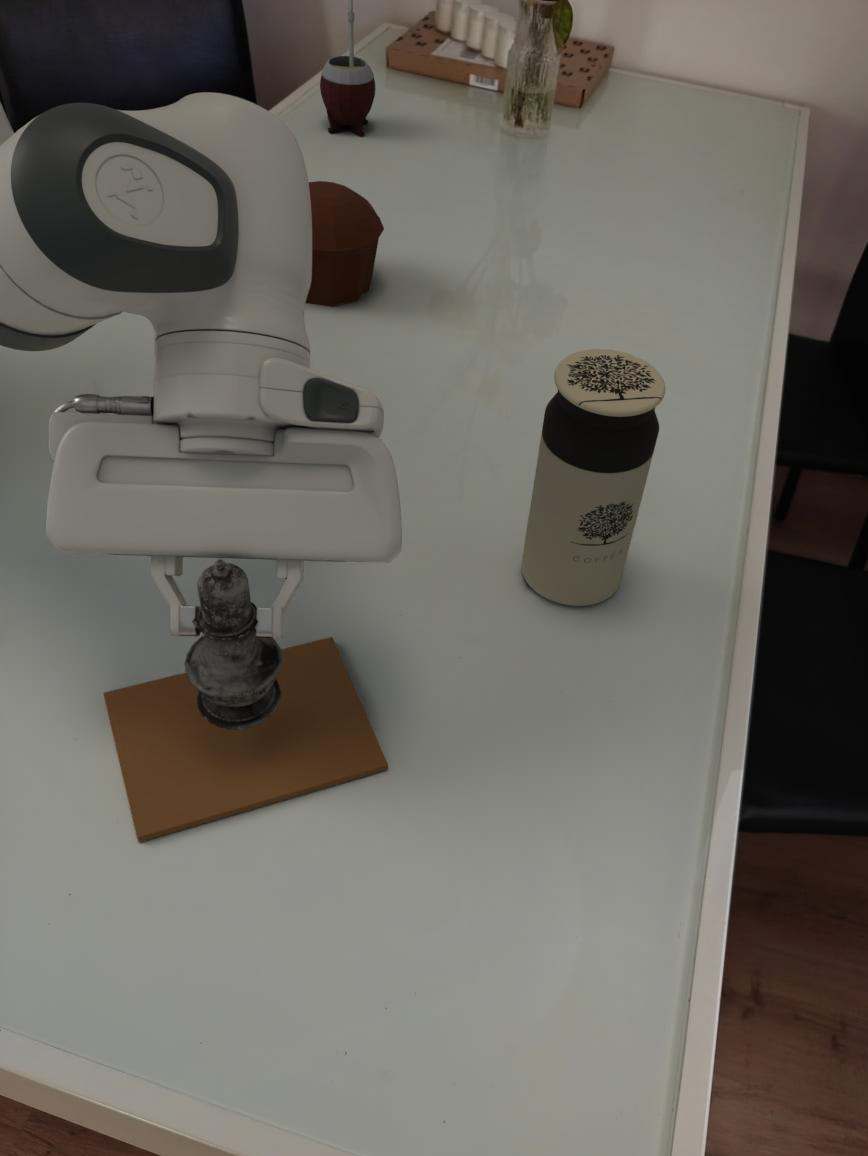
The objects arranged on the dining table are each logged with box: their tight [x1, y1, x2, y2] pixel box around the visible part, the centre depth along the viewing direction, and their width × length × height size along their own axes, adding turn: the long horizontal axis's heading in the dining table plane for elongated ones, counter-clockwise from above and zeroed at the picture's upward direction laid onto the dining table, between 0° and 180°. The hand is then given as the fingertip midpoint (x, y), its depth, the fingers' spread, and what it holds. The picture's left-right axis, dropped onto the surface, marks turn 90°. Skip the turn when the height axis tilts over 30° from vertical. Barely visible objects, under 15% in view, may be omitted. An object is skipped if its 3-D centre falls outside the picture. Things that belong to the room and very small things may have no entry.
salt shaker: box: [184, 558, 283, 730], centre depth 61 cm, size 6×6×12 cm
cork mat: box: [103, 636, 389, 843], centre depth 68 cm, size 16×12×1 cm
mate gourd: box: [319, 0, 376, 138], centre depth 131 cm, size 8×8×15 cm
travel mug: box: [520, 348, 666, 607], centre depth 75 cm, size 8×8×18 cm
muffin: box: [305, 180, 385, 307], centre depth 105 cm, size 12×11×10 cm
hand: (228, 637), depth 60 cm, fingers closed on salt shaker, 3 cm apart
